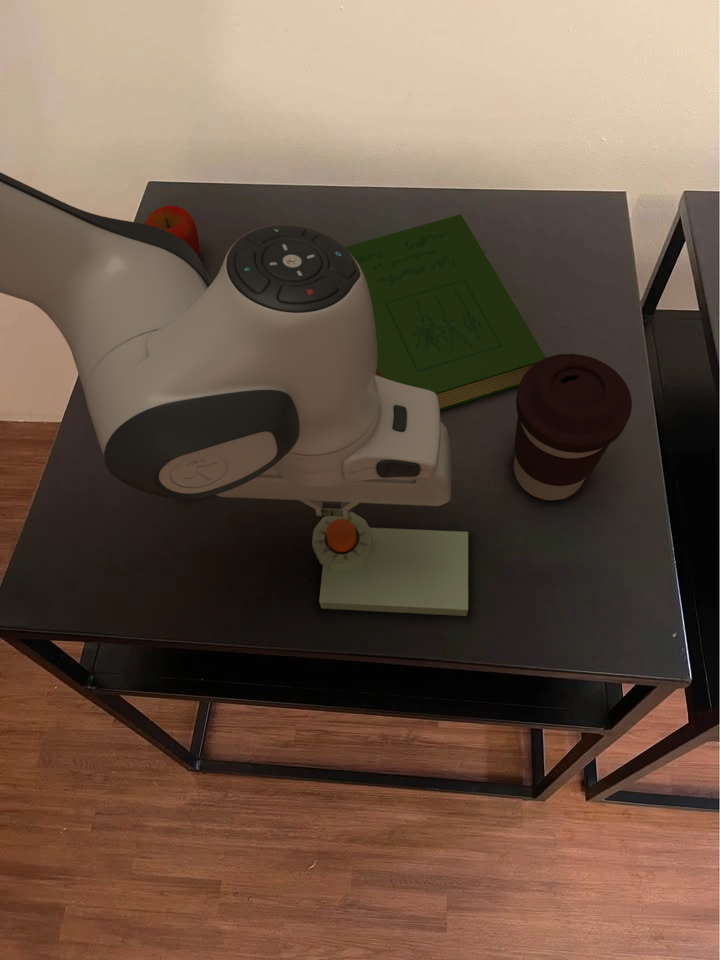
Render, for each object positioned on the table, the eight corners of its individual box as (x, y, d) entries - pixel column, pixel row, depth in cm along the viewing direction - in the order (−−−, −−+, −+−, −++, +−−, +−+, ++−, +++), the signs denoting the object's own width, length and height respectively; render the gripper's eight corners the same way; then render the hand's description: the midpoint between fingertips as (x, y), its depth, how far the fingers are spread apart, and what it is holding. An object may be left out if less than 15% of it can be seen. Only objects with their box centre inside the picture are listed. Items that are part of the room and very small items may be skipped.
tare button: (326, 552, 69) (324, 544, 67) (329, 525, 70) (327, 518, 69) (355, 553, 69) (354, 546, 67) (357, 527, 70) (356, 519, 68)
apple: (155, 252, 94) (136, 206, 88) (200, 240, 95) (185, 193, 88) (163, 286, 91) (144, 240, 85) (210, 273, 92) (195, 227, 85)
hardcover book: (320, 277, 90) (317, 254, 87) (459, 237, 92) (461, 214, 89) (386, 434, 79) (386, 414, 75) (543, 384, 81) (549, 363, 77)
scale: (310, 608, 69) (305, 595, 66) (319, 525, 74) (315, 510, 71) (466, 616, 68) (469, 604, 65) (466, 531, 72) (469, 516, 69)
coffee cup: (590, 523, 72) (631, 445, 59) (492, 502, 74) (511, 421, 61) (601, 442, 77) (642, 352, 64) (509, 423, 78) (530, 333, 65)
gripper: (170, 456, 51) (213, 536, 63) (458, 467, 50) (446, 547, 62) (187, 384, 54) (225, 473, 66) (459, 393, 53) (447, 482, 65)
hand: (333, 509), depth 64 cm, fingers closed
